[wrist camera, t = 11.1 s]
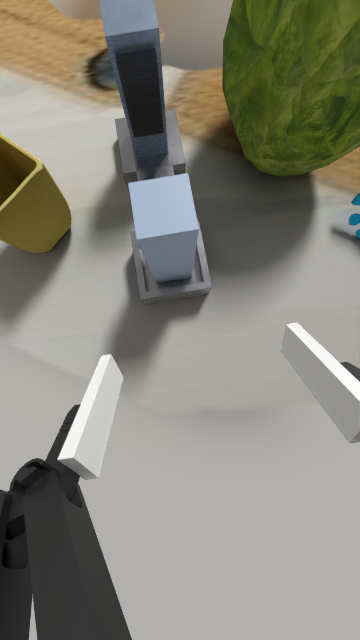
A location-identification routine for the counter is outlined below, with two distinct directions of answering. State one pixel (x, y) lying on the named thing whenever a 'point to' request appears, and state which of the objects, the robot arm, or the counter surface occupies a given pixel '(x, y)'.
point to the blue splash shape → (355, 215)
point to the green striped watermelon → (293, 81)
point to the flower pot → (29, 201)
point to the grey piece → (147, 129)
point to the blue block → (165, 225)
